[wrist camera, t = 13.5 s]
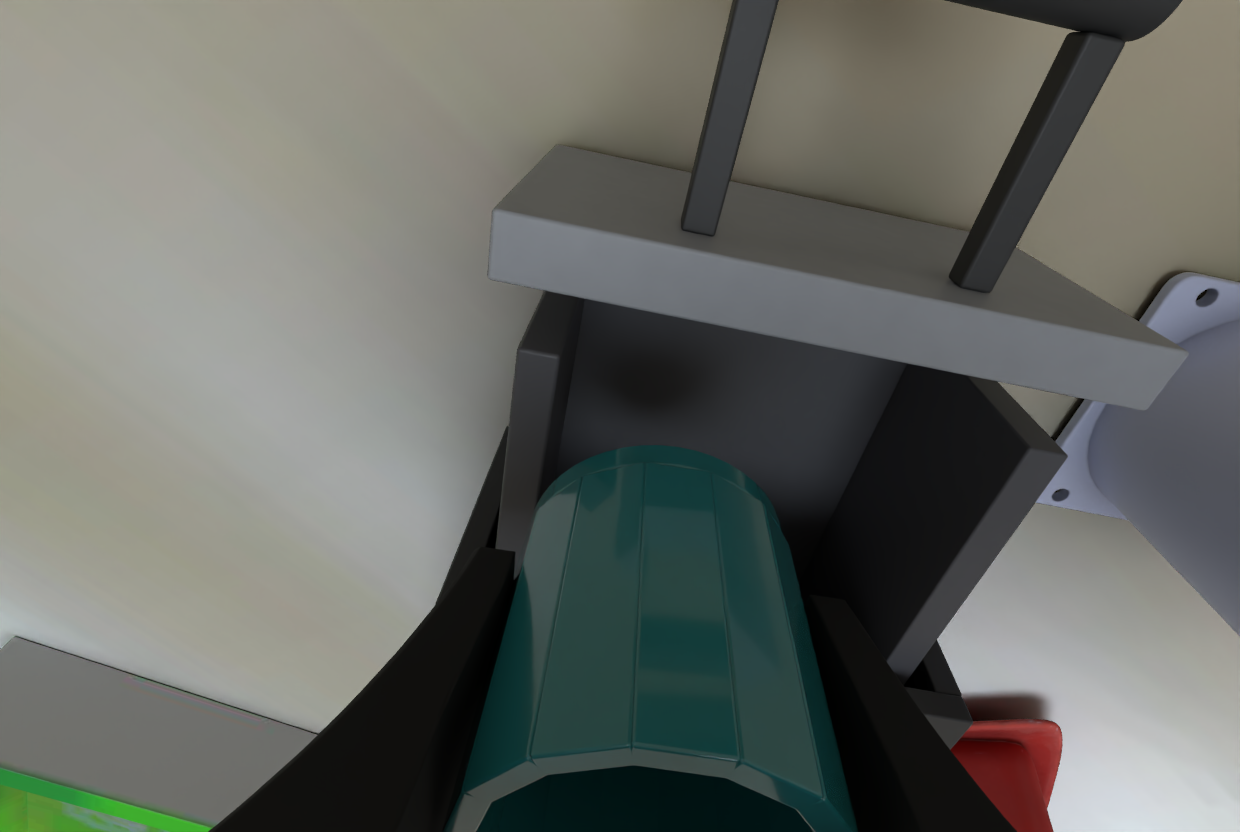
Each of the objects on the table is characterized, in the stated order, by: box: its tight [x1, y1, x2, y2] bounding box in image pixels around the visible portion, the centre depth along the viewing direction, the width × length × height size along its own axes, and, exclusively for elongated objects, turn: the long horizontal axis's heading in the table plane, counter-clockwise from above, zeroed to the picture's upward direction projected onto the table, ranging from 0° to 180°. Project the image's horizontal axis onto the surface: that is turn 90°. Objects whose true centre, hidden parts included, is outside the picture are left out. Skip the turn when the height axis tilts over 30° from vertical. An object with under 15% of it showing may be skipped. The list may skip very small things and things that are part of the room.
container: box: [442, 445, 858, 832], centre depth 10 cm, size 5×5×6 cm
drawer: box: [487, 0, 1189, 686], centre depth 15 cm, size 19×12×7 cm, turn 169°
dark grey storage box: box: [436, 426, 973, 750], centre depth 21 cm, size 14×13×8 cm
